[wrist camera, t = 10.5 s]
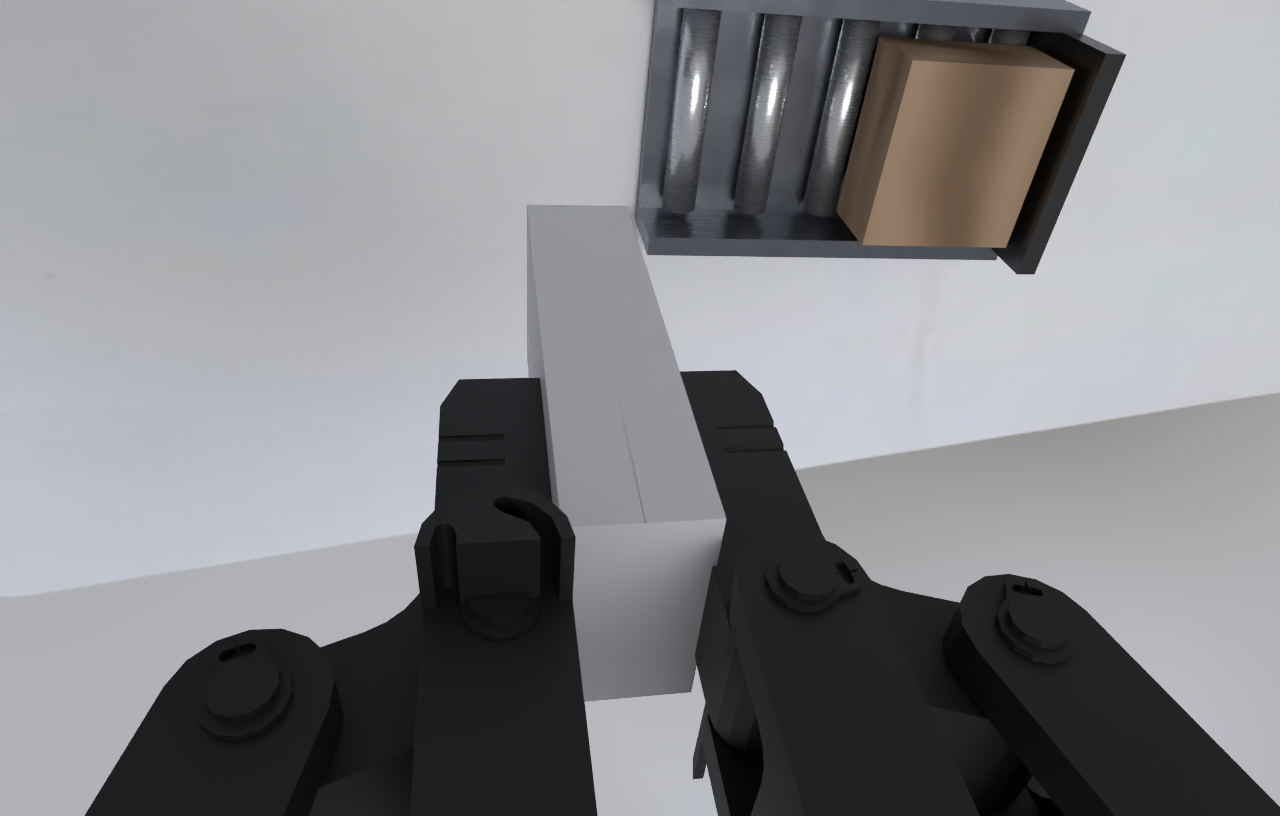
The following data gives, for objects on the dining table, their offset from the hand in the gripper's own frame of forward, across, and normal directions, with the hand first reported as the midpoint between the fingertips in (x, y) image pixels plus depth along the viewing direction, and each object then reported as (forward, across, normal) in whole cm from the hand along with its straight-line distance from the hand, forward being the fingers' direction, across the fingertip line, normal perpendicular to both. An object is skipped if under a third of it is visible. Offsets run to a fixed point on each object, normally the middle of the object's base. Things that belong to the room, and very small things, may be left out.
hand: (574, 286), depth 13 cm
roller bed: (+32, +17, -8) cm, 37 cm away
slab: (+29, +21, -8) cm, 37 cm away
